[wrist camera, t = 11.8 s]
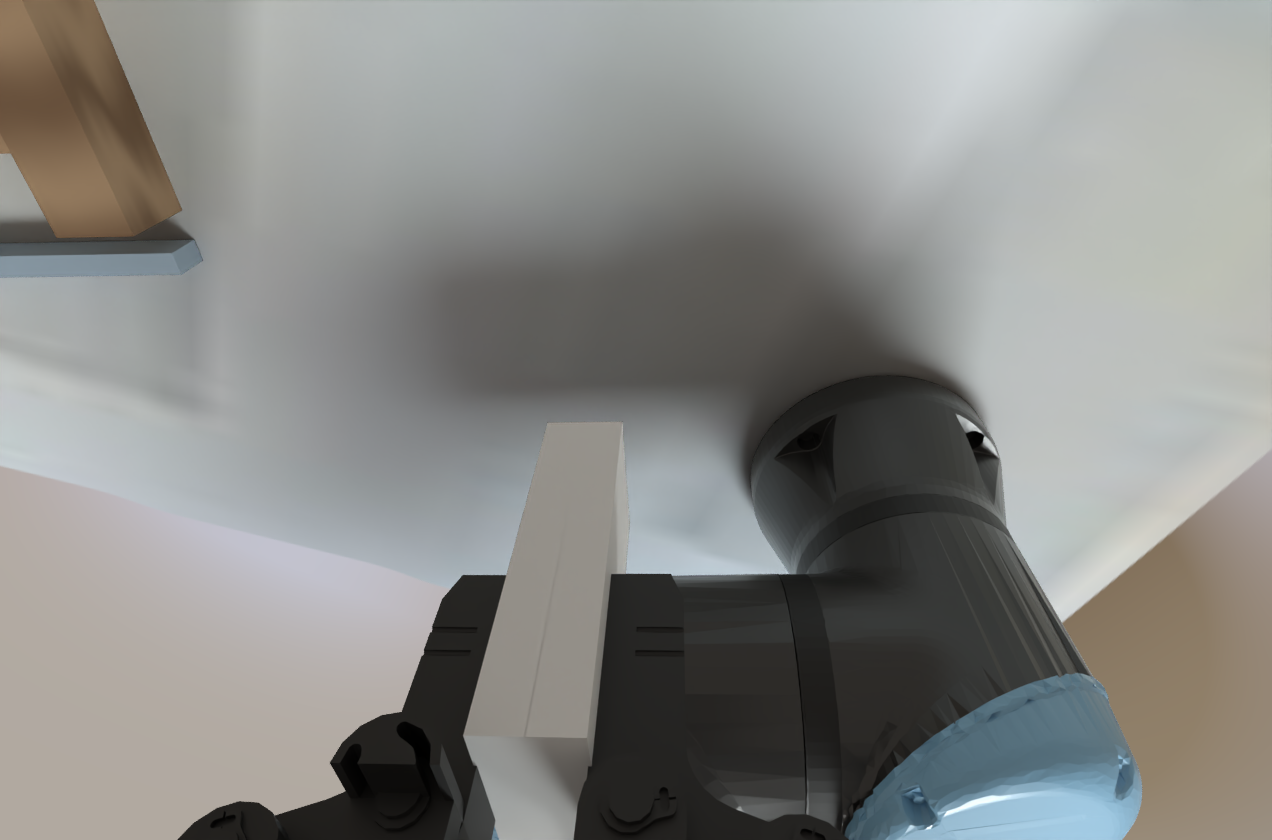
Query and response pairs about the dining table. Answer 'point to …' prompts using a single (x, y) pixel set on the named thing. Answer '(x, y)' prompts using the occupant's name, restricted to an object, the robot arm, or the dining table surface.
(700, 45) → the dining table surface
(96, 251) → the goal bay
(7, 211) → the dining table surface
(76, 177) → the t block
